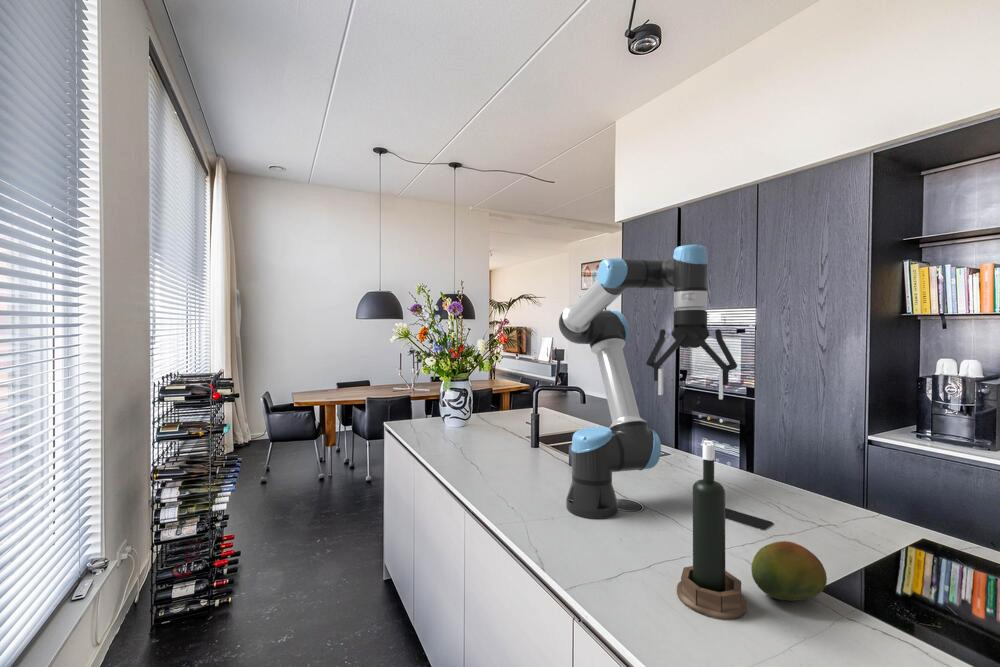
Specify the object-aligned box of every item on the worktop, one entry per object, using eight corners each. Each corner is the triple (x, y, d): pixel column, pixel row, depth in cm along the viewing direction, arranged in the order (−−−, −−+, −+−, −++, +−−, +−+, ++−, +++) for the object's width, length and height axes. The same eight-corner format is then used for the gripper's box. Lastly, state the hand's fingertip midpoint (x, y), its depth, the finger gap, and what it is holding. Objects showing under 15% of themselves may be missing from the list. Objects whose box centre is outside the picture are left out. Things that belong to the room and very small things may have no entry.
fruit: (834, 600, 86) (834, 549, 86) (806, 625, 79) (806, 569, 78) (770, 573, 95) (770, 527, 95) (740, 593, 88) (740, 543, 88)
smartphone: (719, 505, 132) (774, 522, 120) (719, 508, 132) (775, 525, 120) (707, 512, 127) (763, 530, 115) (707, 514, 127) (763, 532, 115)
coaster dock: (672, 606, 84) (672, 586, 84) (681, 575, 95) (681, 557, 95) (747, 627, 78) (747, 606, 78) (747, 591, 89) (747, 572, 89)
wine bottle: (710, 606, 82) (710, 446, 82) (686, 590, 88) (686, 439, 88) (732, 599, 85) (731, 443, 85) (707, 583, 90) (707, 436, 90)
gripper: (634, 310, 110) (634, 394, 111) (748, 307, 98) (748, 402, 98) (641, 311, 117) (641, 391, 117) (749, 308, 104) (748, 398, 105)
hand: (689, 396), depth 108 cm, fingers open, 13 cm apart
